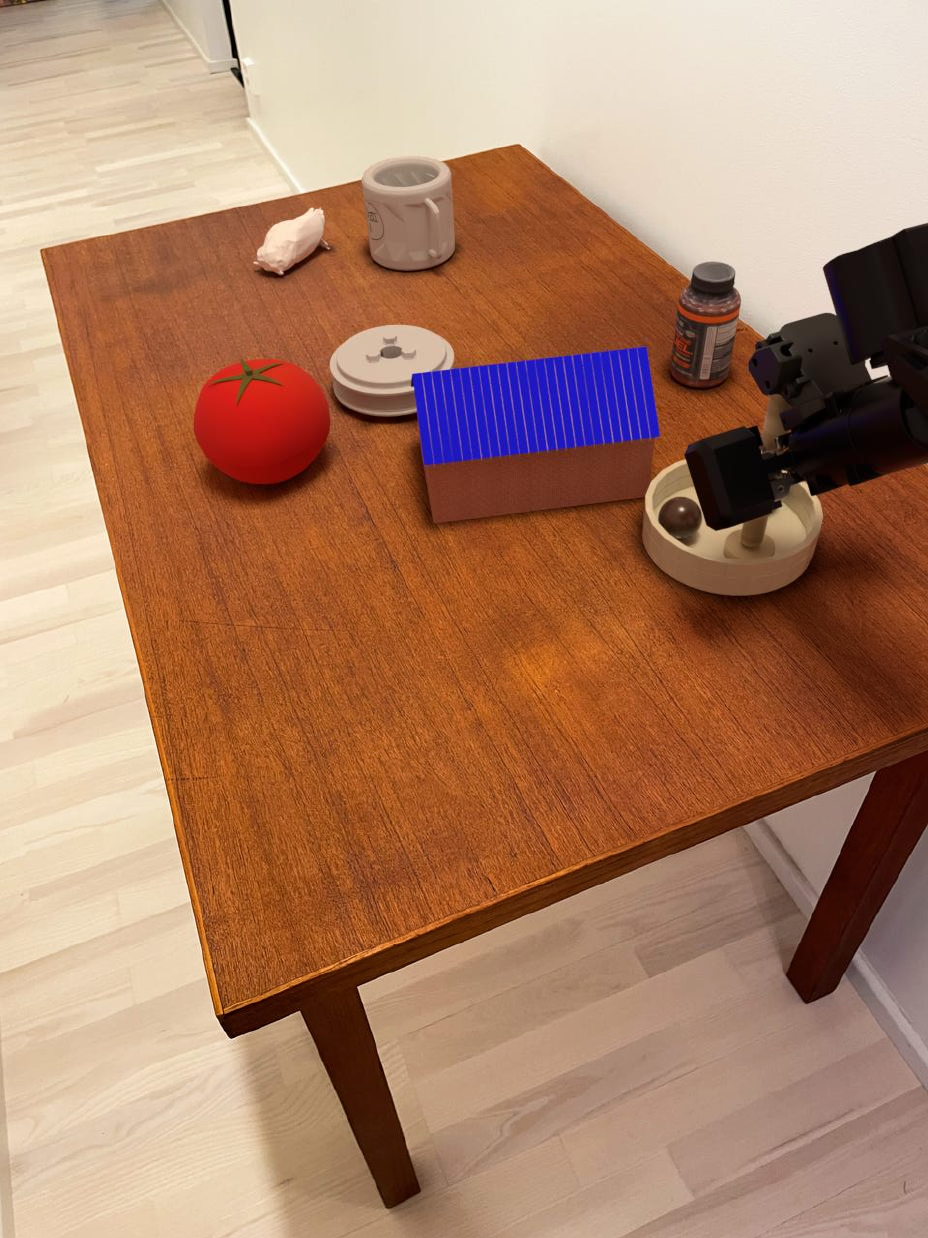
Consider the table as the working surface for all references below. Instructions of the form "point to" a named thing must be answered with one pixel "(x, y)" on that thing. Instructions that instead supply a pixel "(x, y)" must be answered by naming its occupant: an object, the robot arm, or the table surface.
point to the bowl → (704, 551)
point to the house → (536, 433)
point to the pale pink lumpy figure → (291, 241)
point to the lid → (386, 368)
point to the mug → (409, 212)
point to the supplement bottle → (706, 326)
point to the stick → (752, 534)
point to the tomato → (261, 420)
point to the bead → (680, 517)
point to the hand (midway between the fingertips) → (753, 471)
